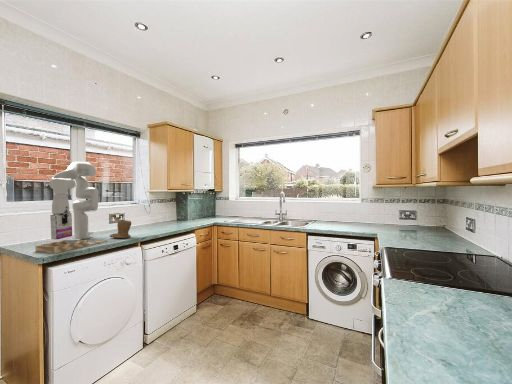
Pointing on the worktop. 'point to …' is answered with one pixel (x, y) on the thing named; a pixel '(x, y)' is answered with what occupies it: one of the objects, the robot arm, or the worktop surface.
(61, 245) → the wooden compartment tray
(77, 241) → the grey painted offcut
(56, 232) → the candy bar box
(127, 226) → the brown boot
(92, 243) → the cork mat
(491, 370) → the worktop surface
